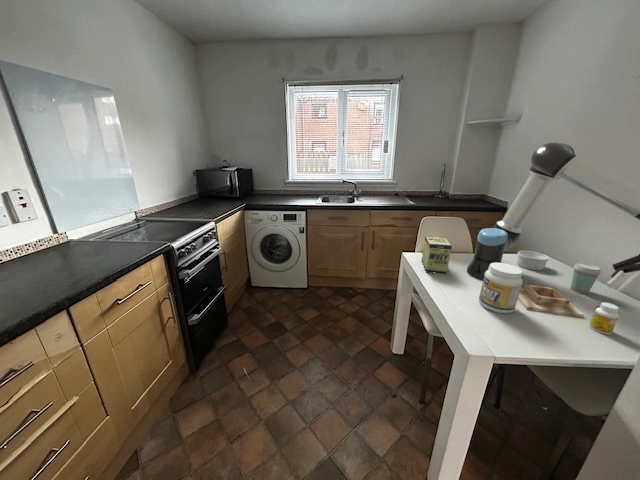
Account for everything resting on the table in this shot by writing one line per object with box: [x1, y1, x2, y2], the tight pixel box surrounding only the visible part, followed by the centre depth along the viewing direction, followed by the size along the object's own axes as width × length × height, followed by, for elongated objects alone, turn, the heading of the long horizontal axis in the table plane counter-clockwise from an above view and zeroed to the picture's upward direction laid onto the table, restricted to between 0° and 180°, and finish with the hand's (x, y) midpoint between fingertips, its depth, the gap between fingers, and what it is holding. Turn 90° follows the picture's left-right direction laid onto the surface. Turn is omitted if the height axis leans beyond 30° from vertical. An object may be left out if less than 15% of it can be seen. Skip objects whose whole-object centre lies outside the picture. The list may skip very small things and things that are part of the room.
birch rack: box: [517, 284, 585, 318], centre depth 103 cm, size 18×16×5 cm
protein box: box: [421, 235, 453, 275], centre depth 134 cm, size 10×16×16 cm
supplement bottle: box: [588, 302, 620, 335], centre depth 86 cm, size 5×5×10 cm
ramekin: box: [516, 250, 550, 271], centre depth 138 cm, size 13×13×7 cm
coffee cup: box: [570, 262, 602, 295], centre depth 112 cm, size 8×8×12 cm
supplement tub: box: [478, 262, 524, 314], centre depth 99 cm, size 12×12×17 cm
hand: (635, 295), depth 85 cm, fingers open, 13 cm apart
